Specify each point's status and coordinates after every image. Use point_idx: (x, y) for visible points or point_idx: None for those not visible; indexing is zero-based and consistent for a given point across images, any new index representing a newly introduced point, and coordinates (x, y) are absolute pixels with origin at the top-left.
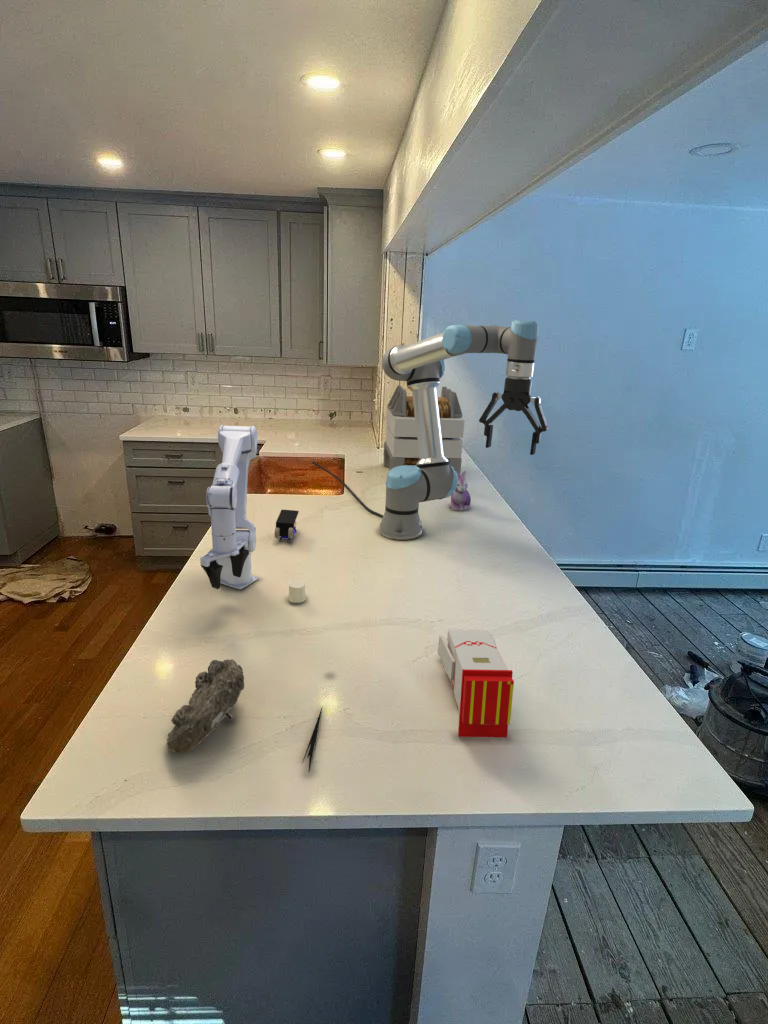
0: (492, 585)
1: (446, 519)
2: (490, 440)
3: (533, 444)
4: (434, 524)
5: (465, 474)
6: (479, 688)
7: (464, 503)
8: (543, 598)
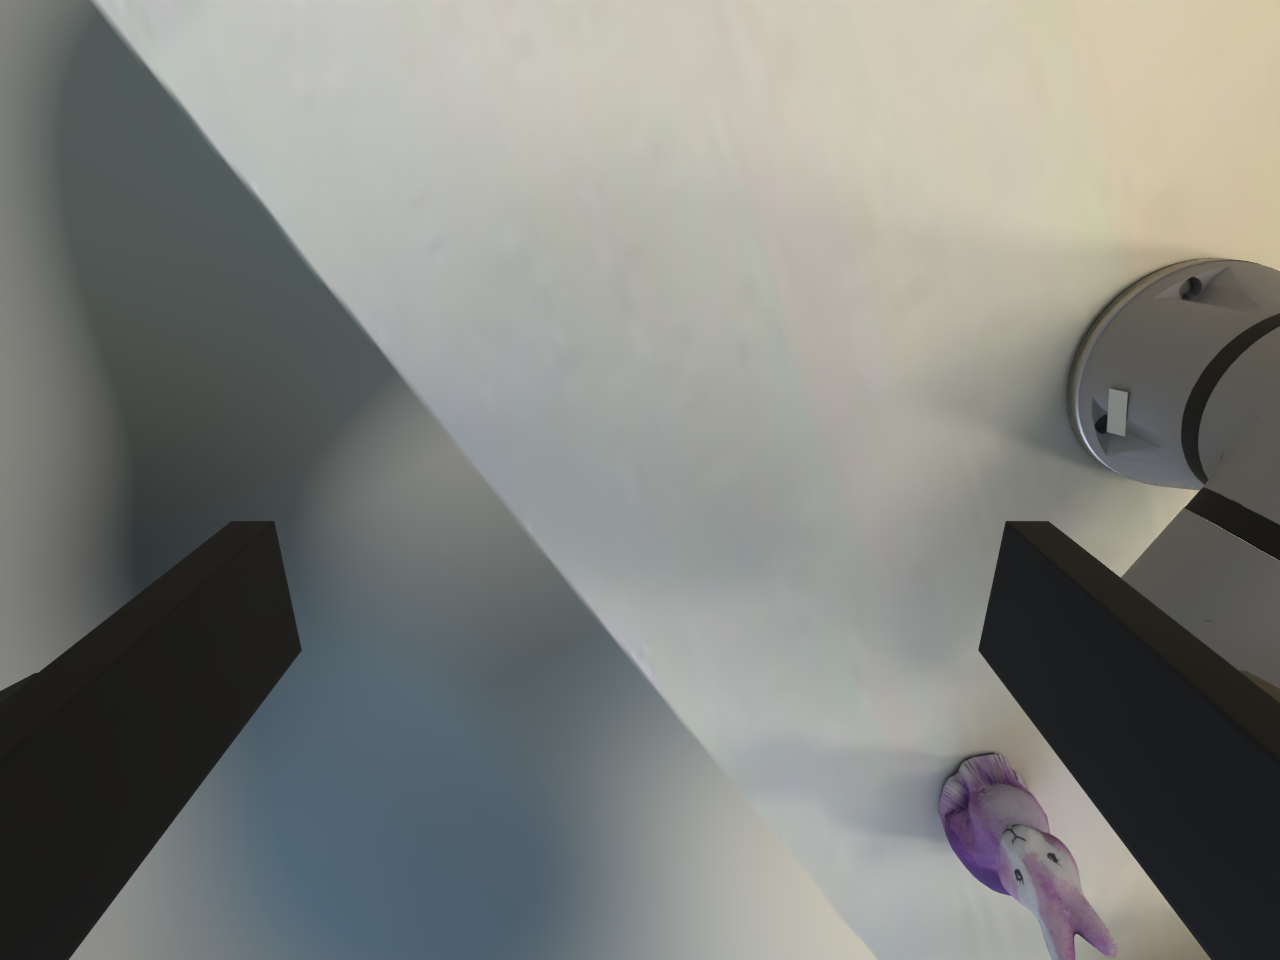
0: (563, 20)
1: None
2: (1045, 673)
3: (118, 620)
4: None
5: (1053, 951)
6: None
7: (967, 804)
8: (311, 32)
